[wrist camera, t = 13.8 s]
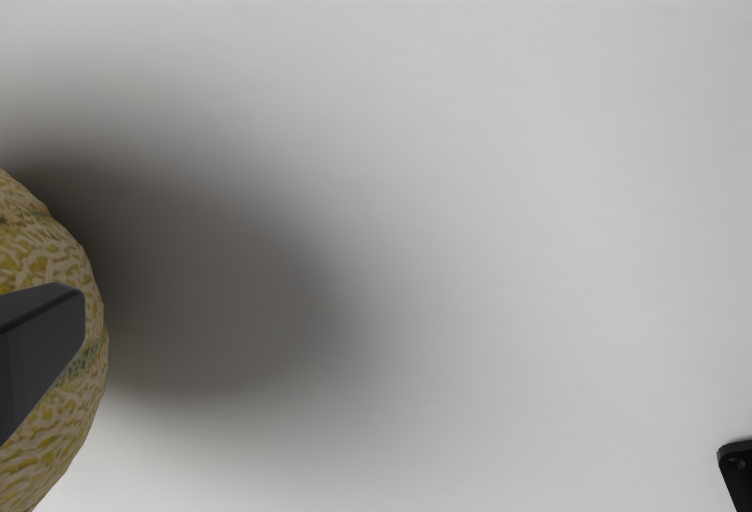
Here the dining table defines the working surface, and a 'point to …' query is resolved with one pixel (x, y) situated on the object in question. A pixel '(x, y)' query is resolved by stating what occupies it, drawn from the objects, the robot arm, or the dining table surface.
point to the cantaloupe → (81, 376)
